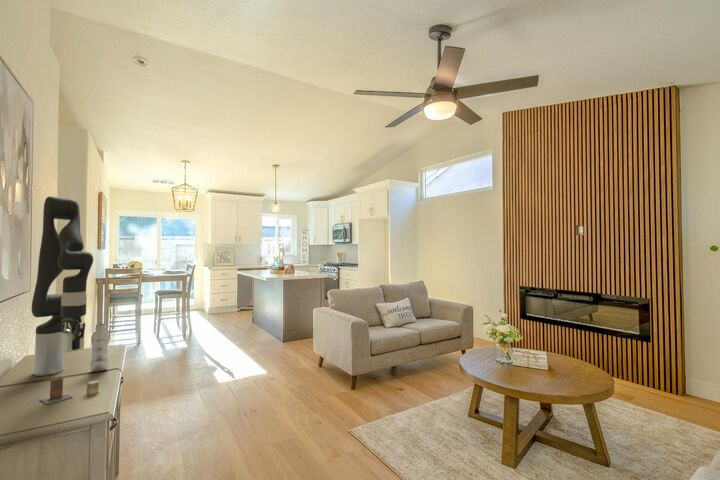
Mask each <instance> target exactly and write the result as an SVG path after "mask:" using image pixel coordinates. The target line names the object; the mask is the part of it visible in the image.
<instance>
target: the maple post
mask: <svg viewBox="0 0 720 480" xmlns="http://www.w3.org/2000/svg"><path fill="white" fill-rule="evenodd" d="M99 384H100V382H99V381H98V380H92V381H88V382H86V394H87V395H89V396H92V395H95V394H99V389H100V388H99V387H100V385H99Z"/></svg>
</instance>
